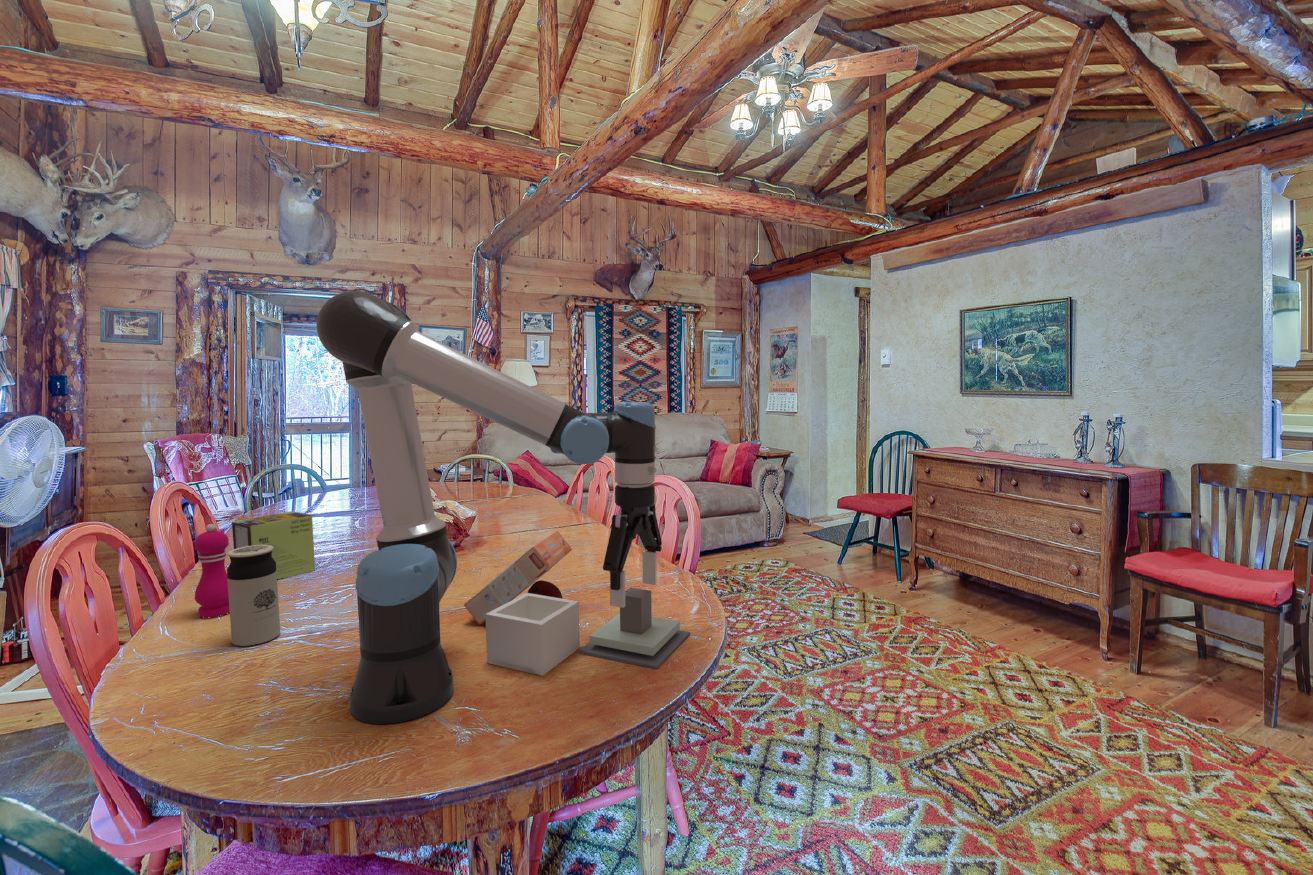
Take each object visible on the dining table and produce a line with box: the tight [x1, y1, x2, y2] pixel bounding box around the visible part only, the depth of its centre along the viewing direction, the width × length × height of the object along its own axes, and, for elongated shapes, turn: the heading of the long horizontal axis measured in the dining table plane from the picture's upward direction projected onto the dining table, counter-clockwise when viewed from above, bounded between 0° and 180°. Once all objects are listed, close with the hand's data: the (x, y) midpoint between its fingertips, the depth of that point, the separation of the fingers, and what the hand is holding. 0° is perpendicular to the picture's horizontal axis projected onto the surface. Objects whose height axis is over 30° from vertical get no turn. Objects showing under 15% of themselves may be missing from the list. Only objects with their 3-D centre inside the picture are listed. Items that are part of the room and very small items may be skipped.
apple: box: [526, 579, 563, 599], centre depth 127 cm, size 7×8×8 cm
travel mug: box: [226, 545, 281, 647], centre depth 116 cm, size 8×8×18 cm
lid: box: [589, 587, 681, 656], centre depth 113 cm, size 13×13×10 cm
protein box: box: [231, 510, 316, 580], centre depth 157 cm, size 10×15×16 cm
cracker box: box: [463, 530, 573, 626], centre depth 127 cm, size 14×6×21 cm
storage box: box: [485, 592, 581, 677], centre depth 109 cm, size 12×12×9 cm
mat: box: [578, 629, 691, 670], centre depth 114 cm, size 16×16×1 cm
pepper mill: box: [194, 523, 230, 619], centre depth 130 cm, size 7×7×20 cm
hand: (634, 594), depth 113 cm, fingers open, 13 cm apart
